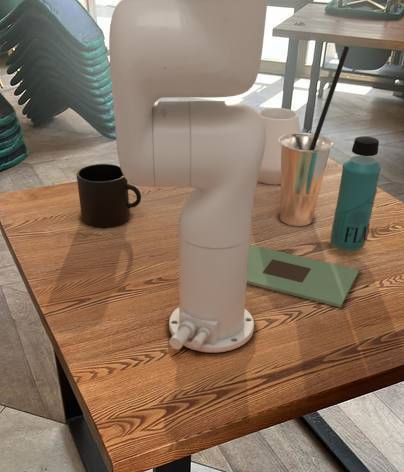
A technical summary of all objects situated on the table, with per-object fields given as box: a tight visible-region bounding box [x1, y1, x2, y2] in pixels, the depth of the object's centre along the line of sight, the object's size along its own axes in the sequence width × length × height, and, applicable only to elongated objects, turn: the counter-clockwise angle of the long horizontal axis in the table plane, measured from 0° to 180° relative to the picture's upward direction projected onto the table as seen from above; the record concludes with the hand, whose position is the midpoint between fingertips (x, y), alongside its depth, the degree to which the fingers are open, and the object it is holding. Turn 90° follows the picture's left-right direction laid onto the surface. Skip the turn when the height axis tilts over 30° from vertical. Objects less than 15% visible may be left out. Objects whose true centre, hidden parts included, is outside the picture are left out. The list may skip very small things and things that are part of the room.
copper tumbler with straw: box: [279, 45, 350, 227], centre depth 105 cm, size 11×11×30 cm
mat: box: [247, 244, 360, 308], centre depth 97 cm, size 12×20×1 cm, turn 65°
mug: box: [76, 163, 142, 228], centre depth 111 cm, size 9×12×9 cm
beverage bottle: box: [329, 135, 382, 252], centre depth 98 cm, size 6×7×20 cm
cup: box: [257, 107, 301, 186], centre depth 127 cm, size 13×13×14 cm
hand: (200, 33), depth 98 cm, fingers closed on scrub brush, 2 cm apart
